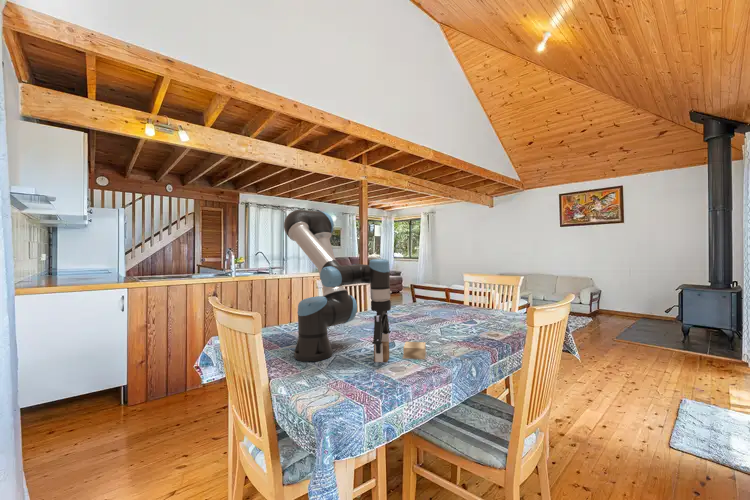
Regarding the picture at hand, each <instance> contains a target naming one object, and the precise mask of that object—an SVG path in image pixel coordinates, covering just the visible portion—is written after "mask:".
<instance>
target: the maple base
mask: <svg viewBox="0 0 750 500" xmlns="http://www.w3.org/2000/svg"><path fill="white" fill-rule="evenodd" d="M426 346H427V345H426V342H425V341H424V342H422V341H421V342H420V341H405V343H404V345H403V354H404V358H413V359H412V360H420V359H425V354H426V352H427V349H426Z"/></svg>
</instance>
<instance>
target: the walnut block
mask: <svg viewBox="0 0 750 500" xmlns="http://www.w3.org/2000/svg"><path fill="white" fill-rule="evenodd" d="M382 346H383V362H382V363H388V361H389V359H390V341H389V342H384V341H382ZM373 362H375V344H373ZM375 363H376V362H375Z"/></svg>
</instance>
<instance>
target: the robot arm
mask: <svg viewBox="0 0 750 500" xmlns="http://www.w3.org/2000/svg"><path fill="white" fill-rule="evenodd" d="M334 226H335V224H334V220H333V218H332V215H330V214H329V213H328V212H325V211H322V210H306V209H295V210H293V211H291V212H289V213H288V215H287V216H286V217H285V219H284V221H283V228H284V232H285V234H286V235H287V237H288V238H289V240H290V241H294V242H295V243H296V244H297V245H298V246H299V247H300V249H301V250H302V252H303V253H304V254H305V255H306V257H308V259H309V260H310V261H311V262H312V263H313V265H314V266H315V267H316V268H317V269H318V274H319V280H320V283H321V285H322V289H323V294H322V296H318V295H316V296H310V297H307V298H303V299H302V300H300V301H299V302H298V304H297V326H298V327H297V328H298V331H297V332H298V338H297V341H296V345H295V349H294V353H293V354H294V359H295V358H296V359H297V360H296V359H295V360H296V361H299V360H300V361H299V362H304V361H314V362H318V361H323V360H327V359H329V358H330V357H332V356H333V347H332V344H331V342H330V340H329V337H328V328H329V327H333V326H337V325H345V324H346V323H349V322H351V321H353V320H354V319H355V317H356V315H357V312H358V304H357V299H356V298H355V297H354V296H353V295H350V294H349V292H348V289H346V288H344V286H350V285H351V286H352V285H358V284H369V285H370V291H369V292H370V300H371V301H370V309H371V311H372V312H376V315H374V316H373V319H374V323H373V340H372V345H374V344H375V363H384V362H383V346H382V341H384V342H389V343H390V337H389V336H390V335H389V334H391V330H390V325H389V324H390V323H389V318H388V317H389V315H388V311H391V309H392V306H391V304H392V301H391V300H390V299H391V294H392V293H393V291H392V290H391V282H390V281H391V280H390V278H391V277H390V274H391V269H390V263H389V262H390V261H389V260H388V259H387V258H381V259H379V258H378V259H370V260H369V264H362V263H361V264H360V263H355V264H351V265H350V264H348V265H341V264H340V262H338V260H336V257H335V254H334V251H333V246H332V244H331V237H332V236H333V235H332V234H333V232H334Z"/></svg>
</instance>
